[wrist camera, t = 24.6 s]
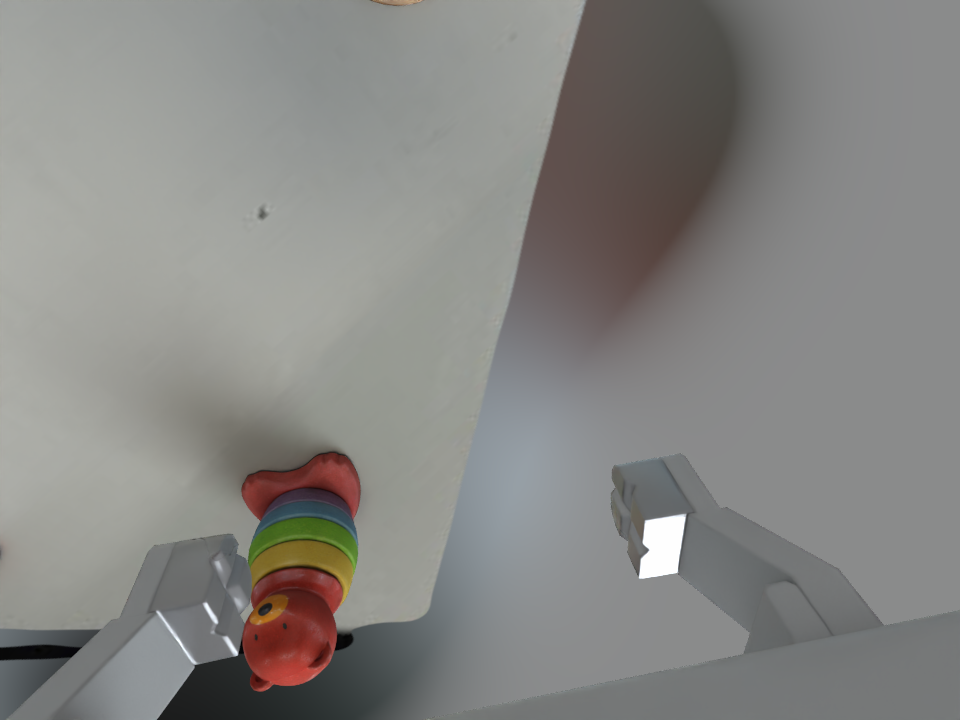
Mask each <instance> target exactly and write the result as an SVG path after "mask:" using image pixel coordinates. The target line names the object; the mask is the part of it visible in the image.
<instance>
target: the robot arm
mask: <svg viewBox="0 0 960 720" xmlns="http://www.w3.org/2000/svg"><path fill="white" fill-rule="evenodd" d="M612 480H613V482H614V485H615V487H616V488H615V489H614V490H613V491H612V492H611V509H612V515H613V519H614V522H615V525H616V528H617V530H618V532H619V535H620V536H621V537H623V538H624V539H626V540H627V541H628V551H627V553H628V555H629V557H630V559H631V562H632V564H633V566H634V568H635V570H636V573H637V575H638V577H639V579H641V578H647V577H653V576H660V575H666V574H672V573H678V572H679V573H678V575H680V576H681V577H682V578H683V579H684V580H686V581H687V582H688V583H689V584H691V585H692V586H693V587H694V588H695V589H697V590H698V591H699V592H700V593H702V594H703V595H704V596H705V597H707V598H708V599H709V600H711V601H712V602H713V603H714V604H715V605H716V606H718V607H719V608H720V609H721V610H723V611H724V612H725V613H726V614H728V615H729V616H730V617H731V618H732V619H734V620H735V621H736V622H737V623H739V624H740V625H741V626H742V627H743V628H745V629H746V630H747V631H748V632H750V635H749V638H748V642H747V644H746V647H745V651H744V654H742V655H738V656H733V657H728V658H723V659H718V660H713V661H709V662H703V663H698V664H693V665H689V666H684V667H679V668H674V669H669V670H664V671H659V672H654V673H649V674H645V675H640V676H635V677H630V678H625V679H620V680H615V681H610V682H605V683H600V684H595V685H591V686H586V687H581V688H576V689H571V690H566V691H561V692H556V693H551V694H546V695H541V696H537V697H532V698H527V699H522V700H517V701H512V702H507V703H502V704H498V705H493V706H487V707H483V708H478V709H473V710H468V711H463V712H458V713H453V714H448V715H443V716H439V717H434V718H429V719H425V720H960V610H958V611H953V612H948V613H943V614H939V615H934V616H929V617H924V618H919V619H914V620H910V621H904V622H900V623H895V624H890V625H885V626H884V625H883V624H882V622H881V621H880V620H879V619H878V617H877V616H876V615H875V614H874V612H873V611H872V610H871V609H870V607H869V606H868V605H867V604H866V602H865V601H864V600H863V599H862V597H861V596H860V595H859V594H858V592H857V591H856V590H855V589H854V587H853V586H852V585H851V584H850V583H849V581H848V580H847V579H846V577H845V576H844V575H843V574H842V573H841V571H840V570H839V569H838V568H836V567H834V566H832V565H831V564H828V563H827V562H825V561H823V560H822V559H820V558H818V557H816V556H814V555H813V554H811V553H809V552H807V551H805V550H803V549H802V548H800V547H798V546H796V545H794V544H793V543H791V542H789V541H787V540H785V539H784V538H782V537H780V536H778V535H776V534H775V533H773V532H771V531H769V530H767V529H765V528H764V527H762V526H760V525H758V524H756V523H755V522H753V521H751V520H749V519H747V518H746V517H744V516H742V515H740V514H738V513H736V512H735V511H733V510H731V509H729V508H727V507H725V508H720V507H719V506H718V504H717V503H716V501H715V500H714V498H713V497H712V495H711V494H710V492H709V491H708V490H707V488H706V487H705V485H704V484H703V482H702V481H701V479H700V478H699V476H698V475H697V473H696V472H695V470H694V469H693V468H692V466H691V464H690V463H689V461H688V460H687V458H686V457H685V456H684V455H682V454H675V455H669V456H664V457H659V458H653V459H647V460H642V461H636V462H631V463H626V464H620V465H615V466H614V467H613V469H612ZM238 545H239V544H238V543H237V541H236V539H235V537H234V536H233V534H224V535H217V536H210V537H204V538H197V539H190V540H184V541H179V542H173V543H167V544H160V545H154V546H153V547H152V548H151V549H150V550H149V551H148V553H147V555H146V558H145V560H144V562H143V565H142V567H141V569H140V572H139V574H138V576H137V578H136V581H135V583H134V585H133V588H132V590H131V592H130V595H129V597H128V599H127V602H126V604H125V606H124V609H123V611H122V613H121V616H120V618H119V619H114V620H111V621H110V622H109V623H108V624H107V625H106V626H105V627H104V628H103V629H102V630H101V631H99V632H98V633H97V634H96V635H95V636H94V637H93V638H92V639H91V640H90V641H89V642H88V643H87V644H86V645H85V646H84V647H82V648H81V649H80V650H79V651H78V652H77V653H76V654H75V655H74V656H73V657H72V658H71V659H70V660H69V661H68V662H67V663H66V664H65V665H63V666H62V667H61V668H60V669H59V670H58V671H57V672H56V673H55V674H54V675H53V676H52V677H51V678H50V679H49V680H48V681H46V682H45V683H44V684H43V685H42V686H41V687H40V688H39V689H38V690H37V691H36V692H35V693H34V694H33V695H32V696H31V697H29V698H28V699H27V700H26V701H25V702H24V703H23V704H22V705H21V706H20V707H19V708H18V709H17V710H16V711H15V712H14V713H12V714H11V715H10V716H9V717H8V718H7V719H6V720H157V718H158V717H159V716H160V714H161V713H162V711H163V710H164V709H165V707H166V706H167V705H168V703H169V702H170V701H171V699H172V698H173V696H174V695H175V694H176V692H177V691H178V690H179V688H180V687H181V685H182V684H183V683H184V681H185V680H186V678H187V677H188V676H189V675H190V673H191V672H192V671H193V669H194V665H196V664H201V663H205V662H210V661H215V660H219V659H223V658H228V657H233V656H237V655H238V652H239V648H240V643H241V639H242V634H243V630H244V626H245V624H244V622H243V620H242V618H241V616H240V614H241V613H242V612H243V611H244V609H245V608H246V607H247V606H248V605H249V603H250V598H251V593H252V575H251V571H250V567H249V564H248V562H247V560H246V558H244V557H242V556H240V555H238V554H236V553H237V549H238Z"/></svg>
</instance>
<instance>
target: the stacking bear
mask: <svg viewBox="0 0 960 720" xmlns="http://www.w3.org/2000/svg"><path fill="white" fill-rule="evenodd" d="M242 497H243V499H244V501H245V503H246V505H247V506H248V508H249V509H250V510H251V512H252V513H253V514H254V515H255V516H256V517H257V518H258V519H259V520H260V521H261V522H260V523H259V525H258V527H257V529H256V532H255V534H254V537H253V540H252V543H251V546H250V549H249V556H248V564H249V567H250V571H251V575H252V593H251V603H252V606H253V609H254V610H253V611H252V613H251V614H250V616H249V617H248V619H247V621H246V623H245V626H244V630H243V649H244V654H245V657H246V660H247V662H248V664H249V666H250V667H251V669H252V670H253V671H254V672H253V674H252V676H251V680H250V684H251V686H252V688H253V689H254V690H256V691H264V690H267V689H268V688H270V687H271V686H272V685H273V684H277V685H282V686H291V685H298V684H302V683H304V682H307V681H309V680H311V679H312V678H314V677H315V676H316V675H318V674H319V673H320V672H321V671H322V670H323V669H324V668H325V667H326V666H327V665H328V664H329V662H330V660H331V658H332V654H333V652H334V649H335V645H336V639H337V630H336V623H335V620H334V617H333V614H334V613H335V611H336V610H337V609H338V607H339V606H340V605H341V604H342V603H343V602H344V600H345V599H346V597H347V594H348V592H349V589H350V586H351V582H352V578H353V575H354V572H355V568H356V564H357V557H358V539H357V533H356V528H355V525H354V522H353V519H354V517H355V515H356V512H357V509H358V506H359V501H360V482H359V478H358V474H357V472H356V470H355V468H354V466H353V465H352V463H351V462H350V460H349V459H348V458H347V457H345V456H343V455H338V454H336V453H327V454H321V455H318V456H316V457H314V458H313V459H312V460H311V461H310V462H309V463H308V464H307V465H305V466H304V467H302V468H300V469H297V470H294V471H290V472H285V473H279V472H269V471H261V472H258V473H256V474H253V475H249V476H248V477H247V478H246V480H245V483H244V484H243V486H242Z"/></svg>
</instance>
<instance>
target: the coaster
mask: <svg viewBox="0 0 960 720" xmlns="http://www.w3.org/2000/svg"><path fill="white" fill-rule="evenodd" d="M371 1H373V2H377V3H381V4H385V5H394V6H397V5H409V4H414V3H418V2H420V1H423V0H371Z"/></svg>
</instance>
